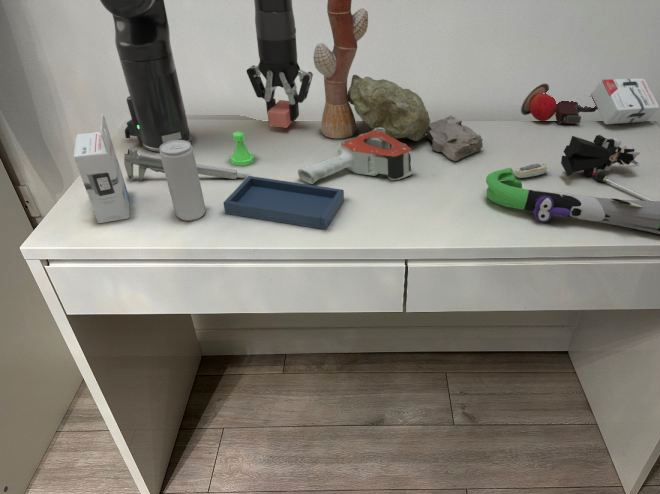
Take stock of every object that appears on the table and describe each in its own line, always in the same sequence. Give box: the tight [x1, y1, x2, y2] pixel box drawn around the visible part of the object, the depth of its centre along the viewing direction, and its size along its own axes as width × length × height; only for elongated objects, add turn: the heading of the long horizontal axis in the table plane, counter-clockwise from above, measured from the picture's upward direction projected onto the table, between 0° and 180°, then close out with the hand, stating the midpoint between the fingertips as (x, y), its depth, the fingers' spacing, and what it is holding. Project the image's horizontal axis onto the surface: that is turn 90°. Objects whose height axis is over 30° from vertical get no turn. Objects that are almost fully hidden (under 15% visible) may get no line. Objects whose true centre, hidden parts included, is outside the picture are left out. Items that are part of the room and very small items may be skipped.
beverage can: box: [159, 140, 207, 222], centre depth 87 cm, size 5×5×12 cm
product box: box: [73, 112, 131, 224], centre depth 87 cm, size 9×5×15 cm, turn 21°
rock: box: [347, 74, 431, 141], centre depth 114 cm, size 15×19×15 cm
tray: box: [222, 175, 345, 230], centre depth 93 cm, size 18×10×2 cm, turn 75°
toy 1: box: [485, 167, 660, 235], centre depth 92 cm, size 6×11×30 cm
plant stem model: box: [313, 0, 369, 140], centre depth 107 cm, size 10×7×30 cm
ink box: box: [590, 77, 660, 125], centre depth 122 cm, size 8×5×12 cm
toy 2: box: [560, 134, 655, 201], centre depth 97 cm, size 8×20×15 cm
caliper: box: [123, 145, 245, 182], centre depth 98 cm, size 20×1×6 cm, turn 94°
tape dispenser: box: [297, 127, 414, 185], centre depth 103 cm, size 18×5×20 cm
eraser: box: [266, 99, 294, 129], centre depth 117 cm, size 4×7×3 cm, turn 167°
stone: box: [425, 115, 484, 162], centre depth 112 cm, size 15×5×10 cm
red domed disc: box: [520, 82, 557, 122], centre depth 122 cm, size 8×8×6 cm
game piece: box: [230, 131, 255, 167], centre depth 104 cm, size 4×4×6 cm
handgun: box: [554, 101, 598, 125], centre depth 127 cm, size 24×3×15 cm
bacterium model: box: [513, 163, 551, 179], centre depth 102 cm, size 12×2×5 cm
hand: (283, 118), depth 118 cm, fingers closed on eraser, 4 cm apart
